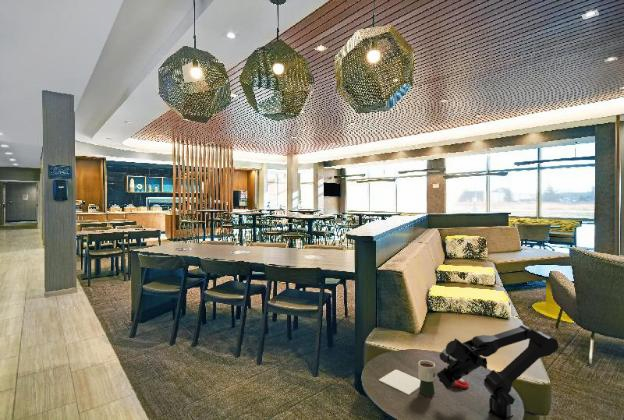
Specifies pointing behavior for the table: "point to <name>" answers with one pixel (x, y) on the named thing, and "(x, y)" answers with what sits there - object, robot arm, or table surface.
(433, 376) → the character mug
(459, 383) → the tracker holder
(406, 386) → the oatmeal mat
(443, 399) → the table surface
